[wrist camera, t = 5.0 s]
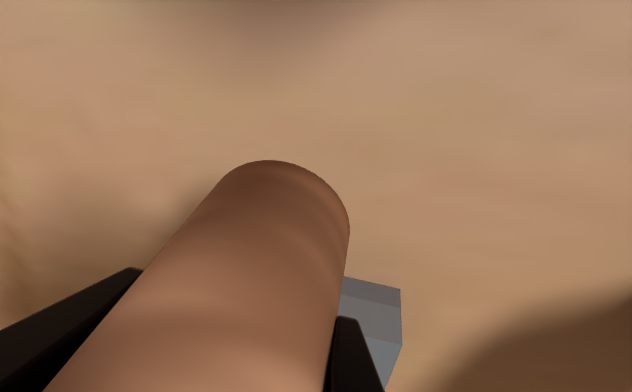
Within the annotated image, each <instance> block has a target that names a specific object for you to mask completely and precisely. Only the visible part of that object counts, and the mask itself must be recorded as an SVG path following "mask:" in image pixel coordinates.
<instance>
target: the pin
mask: <svg viewBox="0 0 632 392" xmlns="http://www.w3.org/2000/svg"><path fill="white" fill-rule="evenodd" d="M349 235H350V226H349V219H348V215H347V212H346V209H345V207H344V205H343V203H342V201H341V200H340V198H339V197H338V195H337V194H336V192H335V191H334V190H333V189H332V188H331V187H330V186H329V185H328V184H327V183H326V182H325V181H324V180H323V179H321V178H320V177H319V176H317V175H316V174H314V173H313V172H311V171H309V170H307V169H305V168H303V167H300V166H298V165H295V164H291V163H288V162H283V161H276V160H262V161H254V162H250V163H246V164H244V165H241V166H239V167H237V168H235V169H233V170H232V171H230V172H229V173H228V174H226V175H225V176H224V177H223V178H222V179H221V180H220V181H219V182H218V184H217V185H216V186H215V187H214V188H213V190H212V191H211V192H210V193H209V194H208V196H207V197H206V198H205V199H204V200H203V201H202V203H201V204H200V205H199V206H198V207H197V209H196V210H195V211H194V212H193V213H192V215H191V216H190V217H189V218H188V219H187V220H186V222H185V223H184V224H183V225H182V226H181V228H180V229H179V230H178V231H177V232H176V234H175V235H174V236H173V237H172V238H171V239H170V241H169V242H168V243H167V244H166V245H165V247H164V248H163V249H162V250H161V251H160V252H159V254H158V255H157V256H156V257H155V258H154V260H153V261H152V262H151V263H150V264H149V266H148V267H147V268H146V269H145V270H144V271H143V273H142V274H141V275H140V276H139V277H138V279H137V280H136V281H135V282H134V283H133V285H132V286H131V287H130V288H129V289H128V290H127V292H126V293H125V294H124V295H123V296H122V298H121V299H120V300H119V301H118V302H117V304H116V305H115V306H114V307H113V308H112V309H111V311H110V312H109V313H108V314H107V315H106V317H105V318H104V319H103V320H102V321H101V322H100V324H99V325H98V326H97V327H96V328H95V330H94V331H93V332H92V333H91V334H90V336H89V337H88V338H87V339H86V340H85V341H84V343H83V344H82V345H81V346H80V347H79V349H78V350H77V351H76V352H75V353H74V355H73V356H72V357H71V358H70V359H69V360H68V362H67V363H66V364H65V365H64V366H63V368H62V369H61V370H60V371H59V372H58V373H57V375H56V376H55V377H54V378H53V379H52V381H51V382H50V383H49V384H48V385H47V387H46V388H45V389H44V390H43V391H42V392H326V388H327V379H328V372H329V365H330V359H331V352H332V345H333V339H334V332H335V325H336V319H337V315H338V308H339V302H340V295H341V288H342V282H343V275H344V268H345V262H346V255H347V248H348V242H349Z"/></svg>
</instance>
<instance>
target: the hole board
mask: <svg viewBox="0 0 632 392" xmlns="http://www.w3.org/2000/svg"><path fill="white" fill-rule="evenodd" d="M340 315H342V316H347V317H351V318H355V319H357V320H358V322H359V324H360V327H361V330H362V332H363V335H364V338H365V340H366V343H367V346H368V348H369V351H370V354H371V356H372V359H373V362H374V364H375V367H376V370H377V372H378V375H379V378H380V380H381V383H382V386H383V388H384V390H385V387H386V385H387V382H388V380H389V377H390V375H391V372H392V370H393V367H394V365H395V362H396V360H397V357H398V355H399V352H400V350H401V347H402V325H401V300H400V289H396V288H392V287H387V286H383V285H379V284H374V283H370V282H365V281H361V280H357V279H352V278H348V277H343V282H342V288H341V295H340V302H339V308H338V315H337V317H338V316H340Z"/></svg>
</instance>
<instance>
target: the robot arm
mask: <svg viewBox="0 0 632 392" xmlns="http://www.w3.org/2000/svg"><path fill="white" fill-rule="evenodd" d="M143 271H144V269H139V268H135V267H128V268H126V269H124V270H122V271H120V272H118V273H115V274H113V275H111V276H109V277H107V278H105V279H103V280H101V281H99V282H97V283H95V284H93V285H91V286H89V287H87V288H85V289H83V290H81V291H79V292H77V293H75V294H73V295H71V296H69V297H67V298H65V299H63V300H61V301H59V302H57V303H55V304H53V305H51V306H49V307H47V308H45V309H43V310H41V311H39V312H37V313H35V314H33V315H31V316H29V317H27V318H24V319H22V320H20V321H18V322H16V323H14V324H12V325H10V326H8V327H6V328H4V329H2V330H0V392H42V391H43V390H44V389H45V388H46V387H47V385H48V384H49V383H50V382H51V381H52V379H53V378H54V377H55V376H56V375H57V373H58V372H59V371H60V370H61V369H62V368H63V366H64V365H65V364H66V363H67V362H68V360H69V359H70V358H71V357H72V356H73V355H74V353H75V352H76V351H77V350H78V349H79V347H80V346H81V345H82V344H83V343H84V341H85V340H86V339H87V338H88V337H89V336H90V334H91V333H92V332H93V331H94V330H95V328H96V327H97V326H98V325H99V324H100V322H101V321H102V320H103V319H104V318H105V317H106V315H107V314H108V313H109V312H110V311H111V309H112V308H113V307H114V306H115V305H116V304H117V302H118V301H119V300H120V299H121V298H122V296H123V295H124V294H125V293H126V292H127V290H128V289H129V288H130V287H131V286H132V285H133V283H134V282H135V281H136V280H137V279H138V277H139V276H140V275H141V274H142V273H143ZM326 392H385V391H384V388H383V386H382V383H381V380H380V378H379V375H378V372H377V370H376V367H375V364H374V362H373V359H372V356H371V354H370V351H369V348H368V346H367V343H366V340H365V338H364V335H363V332H362V330H361V327H360V324H359V322H358V320H357V319H355V318H351V317H347V316H342V315H340V316H338V317H337V319H336V325H335V332H334V339H333V345H332V352H331V359H330V365H329V372H328V379H327V388H326Z"/></svg>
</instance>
